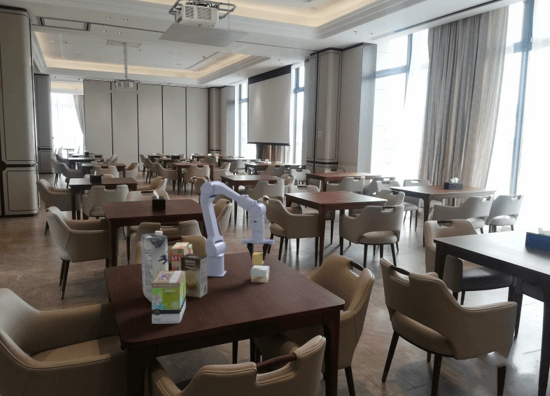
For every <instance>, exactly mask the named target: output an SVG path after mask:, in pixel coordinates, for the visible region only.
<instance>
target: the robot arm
mask: <svg viewBox="0 0 550 396" xmlns="http://www.w3.org/2000/svg"><path fill="white" fill-rule="evenodd" d="M199 190H200V196H199V203H200V208H201V212H202V216H203V217H202V218H203V222H204V226H205V230H206V234H207V238H206V239H205V248H204V250H205V251H204V252H205V254H206V256H207V277H224V276H225V274H226V273H227V270H225V252H226V251H227V244H226V242H225V241H224V237H223V236H222V235H221V234H220V231H219V227H218V221H217V217H216V212H215V209H214V204H213V202H214V200H215V199H216V198H217V196H219V195H223V196H226V197H227V198H229V199H231V200H232V201H235V202H236V204H237V207H240V208H241V209H243V210H245V212H248V213H249V215H250V217H251V218H250V219H251V238H243V239H242V238H241V245H246V248H247V250H248V251H249V255H250V259H251V261H252V254H253V253H254V252H255V251H254V250H255V245H262V252H263V261H264V262H265V260H266V254H267V251H268V249H269V247H270V245H271V246H275V239H269V238H268V239H267V238H265V214H266V213H267V206H266V204H265V203H263V202H258V200H255V199H252V198H251V197H249V196H250V195H249V194H240V193H238V192H236V191H235V190H233V189H232V188H231V187H229V186H227V184H226V183H224V182H221V181H220V180H214V181H205V182H203V183H202V185H201V186H200V188H199Z"/></svg>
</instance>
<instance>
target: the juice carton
mask: <svg viewBox="0 0 550 396" xmlns="http://www.w3.org/2000/svg"><path fill="white" fill-rule="evenodd" d="M168 247H169V246H168V236H167V235H164V234H163V231H162V230H155V231H154V232H153V233H152V232H149V233H141V235H140V256H141V257H140V258H141V259H140V260H141V278H142V279H141V281H142V282H141V284H142V291H143V295H144V297H145V298H146V299H147V300H148V301H149V302H150V303H152V282H153V280H154V279H155V277H156V276H157V274H158V273H159V271H170V270H169V248H168Z"/></svg>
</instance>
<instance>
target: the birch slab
mask: <svg viewBox="0 0 550 396" xmlns="http://www.w3.org/2000/svg"><path fill="white" fill-rule="evenodd" d="M269 279H270V272H269V273H268V275H267V276H266V277H259V276H251V275H250V281H251V283H268V281H269Z"/></svg>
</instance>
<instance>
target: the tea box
mask: <svg viewBox="0 0 550 396" xmlns="http://www.w3.org/2000/svg"><path fill="white" fill-rule="evenodd" d="M186 307H187V296H186V276H185V271H172V270H169V271H159V273H158V274H157V276H156V277H155V279H154V280H153V282H152V302H151V324H153V325H154V324H156V325H162V324H163V325H165V324H180V323H181V321H182V319H183V316H184V314H185V310H186Z"/></svg>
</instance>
